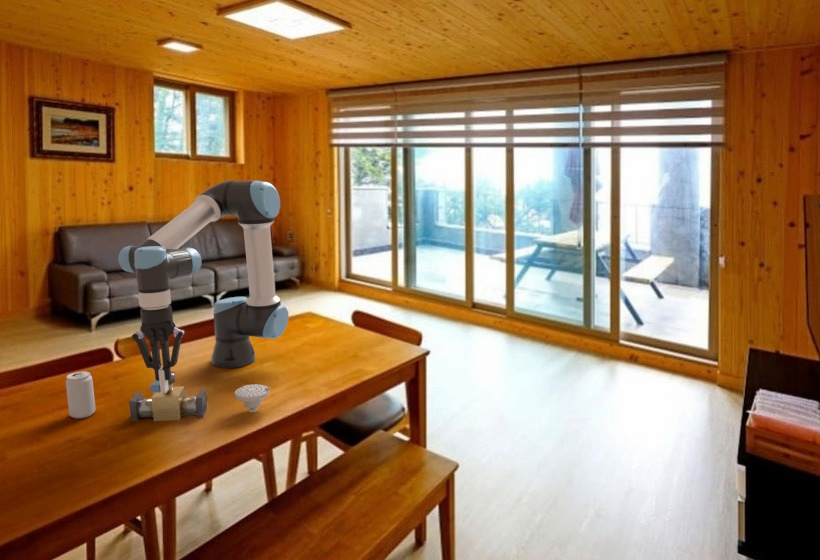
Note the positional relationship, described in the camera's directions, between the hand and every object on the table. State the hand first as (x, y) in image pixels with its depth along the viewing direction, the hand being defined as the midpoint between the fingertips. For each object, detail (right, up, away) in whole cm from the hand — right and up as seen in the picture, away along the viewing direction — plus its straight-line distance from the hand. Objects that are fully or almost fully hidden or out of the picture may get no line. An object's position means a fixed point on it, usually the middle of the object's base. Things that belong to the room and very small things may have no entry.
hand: (164, 391), depth 148 cm
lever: (-2, +1, +3) cm, 4 cm away
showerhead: (+21, -8, +12) cm, 25 cm away
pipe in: (+4, -8, +9) cm, 13 cm away
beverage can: (-27, -8, +8) cm, 29 cm away
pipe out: (-9, -9, +7) cm, 14 cm away
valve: (-2, -8, +8) cm, 12 cm away
